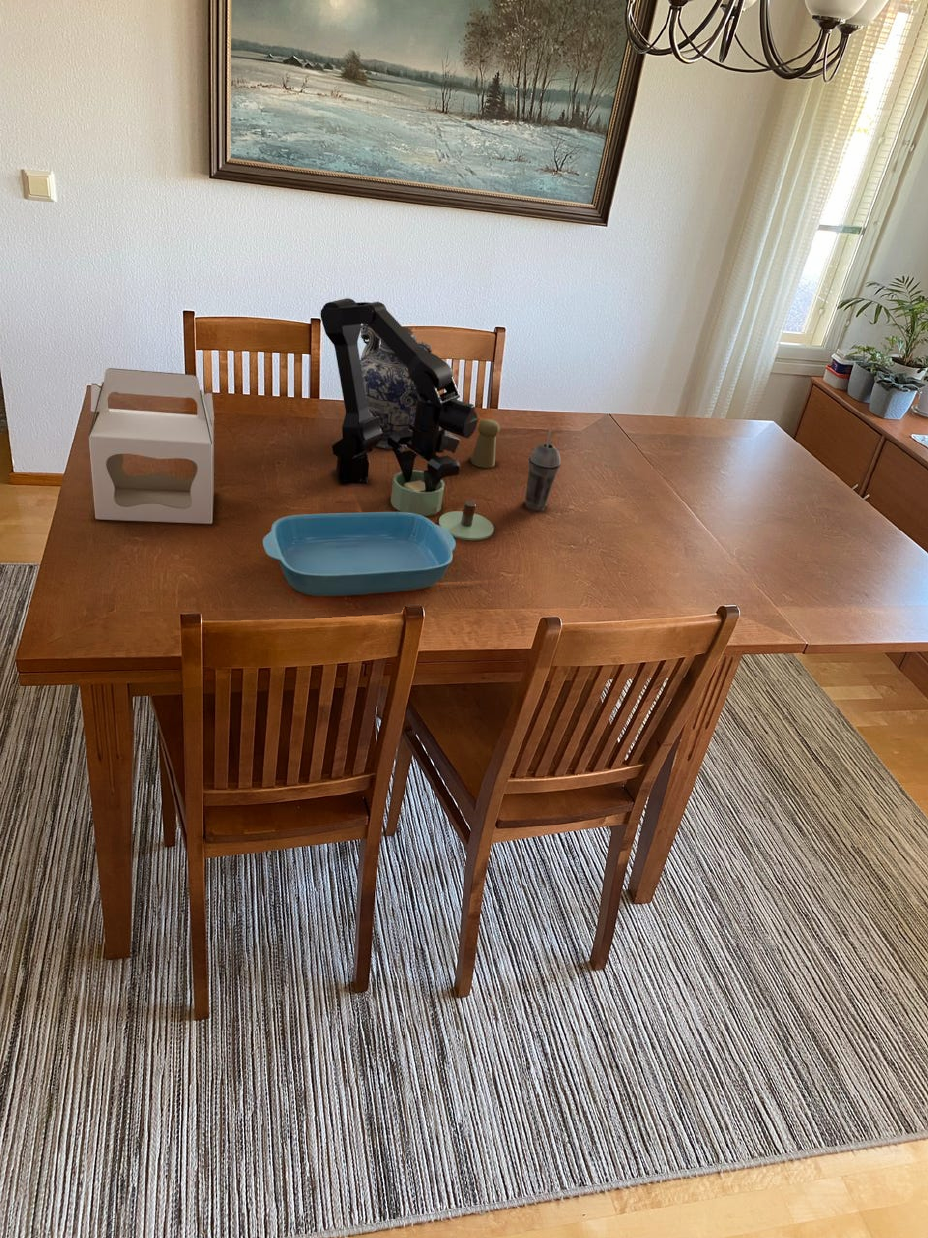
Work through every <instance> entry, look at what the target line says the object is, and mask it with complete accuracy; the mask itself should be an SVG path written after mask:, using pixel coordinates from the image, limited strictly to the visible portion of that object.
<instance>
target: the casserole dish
mask: <svg viewBox="0 0 928 1238" xmlns="http://www.w3.org/2000/svg"><path fill="white" fill-rule="evenodd" d="M262 546H263V550H264V552H265V554H266V556H267V557H268V558H270V559H271V560H274V561H277V562H279V565H280V567H281V570H282V573H283V575H284V577H285V579H286V582H287V583H288V585H289V586H290V587H291V588H292V589H294V590H295V591H296V592H299V593H300V594H303V595H306V596H311V597H345V596H360V595H362V596H363V595H370V594H374V595H375V594H385V593H399V592H409V591H411V592H412V591H418V590H423V589H427V588H430V587H432V586H434V585H436V584H437V583H439V582H440V580H442V578H443V577H444V576H445V574H446V572H447V570H448V568H449V566H450V564H452V561H453V557H454V556H453V551H454V550H455V549H456V546H457V542H456V539H455V537H453V536H452V535H451V534H450V533H449V532H448V531H447V530H446V529H444V528H442V527H440V526H439V524H436V523H434V522H433V521H432V520H431V519H429V518H428V517H427V516H421V515H418V514H413V513H405V512H401V511H371V512H339V513H337V512H336V513H335V512H334V513H333V512H331V513H307V514H306V513H305V514H295V515H294V514H293V515H288V516H284V517H281V518H278V519H277V520H275V521H274V522H273V523H272V525H271V528H270V532H269V533H267V534H266V535H265V536H264V537H263V539H262Z"/></svg>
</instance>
